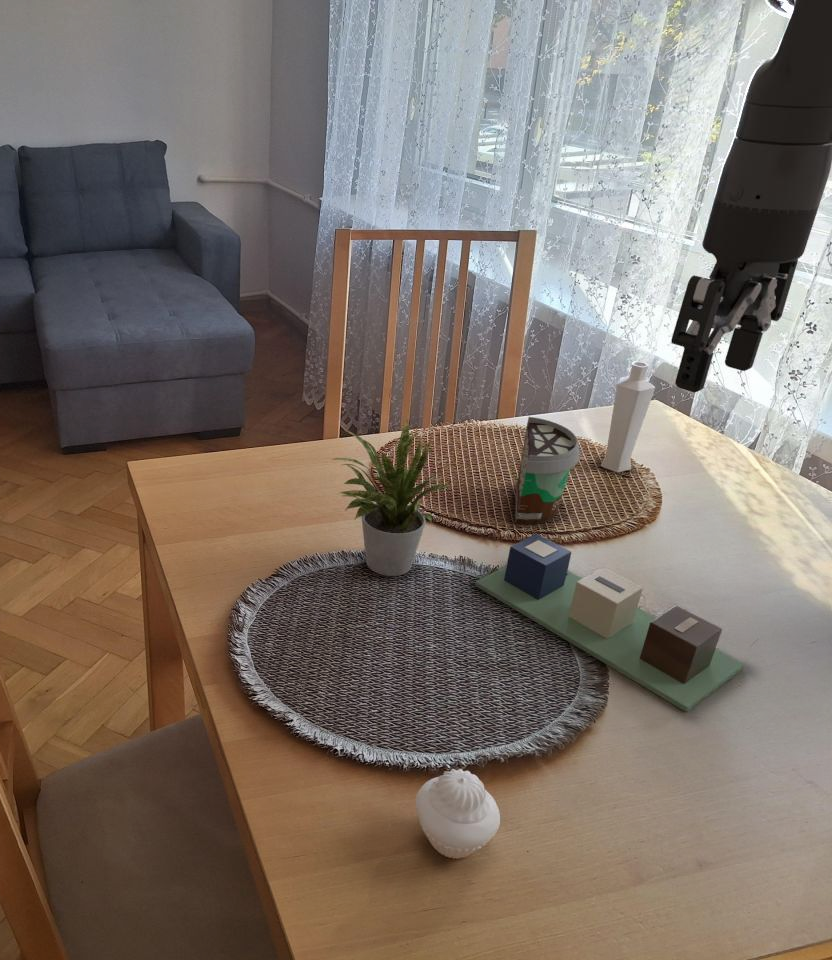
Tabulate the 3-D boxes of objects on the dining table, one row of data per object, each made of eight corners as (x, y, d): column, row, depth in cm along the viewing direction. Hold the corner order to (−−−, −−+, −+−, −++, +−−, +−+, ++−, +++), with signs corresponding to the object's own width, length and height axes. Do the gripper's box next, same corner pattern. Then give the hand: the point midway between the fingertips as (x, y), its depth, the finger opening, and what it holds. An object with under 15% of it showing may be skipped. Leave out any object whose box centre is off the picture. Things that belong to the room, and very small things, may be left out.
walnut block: (664, 641, 86) (676, 604, 84) (709, 665, 82) (723, 628, 80) (638, 658, 84) (650, 621, 81) (684, 684, 80) (697, 646, 78)
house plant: (328, 520, 108) (335, 401, 100) (441, 529, 106) (458, 408, 98) (319, 586, 96) (327, 457, 88) (447, 599, 93) (467, 467, 85)
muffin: (403, 859, 65) (412, 795, 62) (418, 799, 70) (428, 737, 67) (487, 888, 63) (502, 823, 60) (497, 823, 68) (511, 760, 65)
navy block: (529, 566, 97) (536, 532, 95) (564, 585, 94) (572, 551, 92) (503, 580, 95) (510, 546, 93) (538, 600, 92) (545, 565, 90)
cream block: (593, 601, 92) (602, 566, 89) (633, 622, 88) (643, 586, 86) (567, 616, 89) (576, 581, 87) (607, 639, 86) (617, 603, 84)
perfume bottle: (630, 476, 116) (657, 373, 109) (596, 468, 118) (620, 367, 111) (636, 463, 120) (662, 361, 112) (602, 455, 122) (626, 355, 114)
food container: (569, 537, 104) (585, 464, 99) (515, 529, 105) (528, 457, 100) (565, 488, 114) (580, 420, 109) (516, 482, 115) (528, 414, 111)
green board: (531, 556, 100) (532, 551, 100) (742, 669, 83) (744, 663, 82) (474, 585, 95) (475, 580, 95) (686, 712, 78) (688, 707, 78)
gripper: (771, 216, 65) (713, 411, 73) (856, 192, 72) (794, 372, 80) (675, 201, 71) (630, 383, 78) (762, 180, 77) (713, 350, 85)
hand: (713, 378), depth 79 cm, fingers open, 8 cm apart
